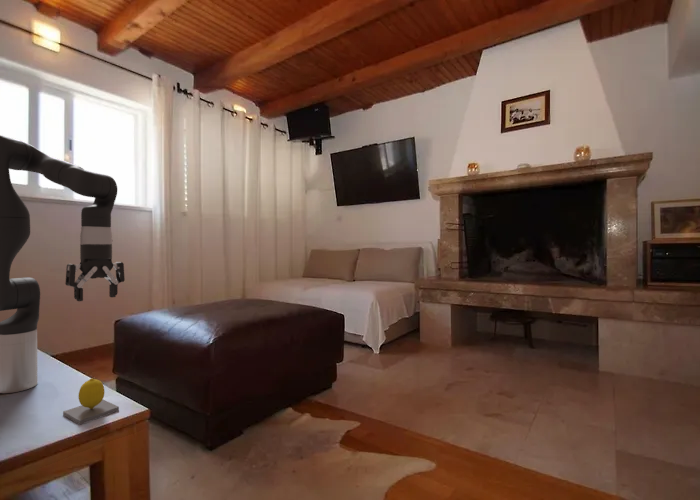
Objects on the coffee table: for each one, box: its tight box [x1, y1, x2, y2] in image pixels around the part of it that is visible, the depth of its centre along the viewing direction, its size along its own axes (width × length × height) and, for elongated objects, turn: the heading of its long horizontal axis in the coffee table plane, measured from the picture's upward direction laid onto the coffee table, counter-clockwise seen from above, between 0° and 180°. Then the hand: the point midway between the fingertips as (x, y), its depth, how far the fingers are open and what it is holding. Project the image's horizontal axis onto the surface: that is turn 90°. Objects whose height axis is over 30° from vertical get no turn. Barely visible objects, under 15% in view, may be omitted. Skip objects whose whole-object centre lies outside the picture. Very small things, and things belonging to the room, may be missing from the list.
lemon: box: [78, 377, 105, 409], centre depth 95 cm, size 6×6×8 cm
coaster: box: [62, 398, 120, 426], centre depth 95 cm, size 9×9×1 cm
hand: (96, 299), depth 105 cm, fingers open, 8 cm apart
